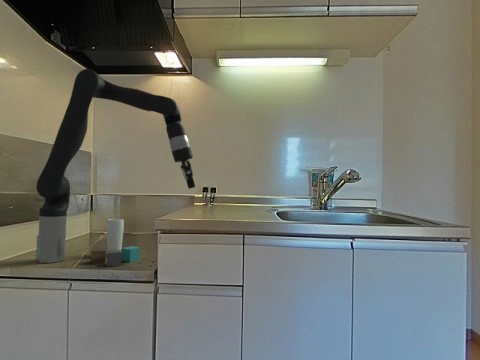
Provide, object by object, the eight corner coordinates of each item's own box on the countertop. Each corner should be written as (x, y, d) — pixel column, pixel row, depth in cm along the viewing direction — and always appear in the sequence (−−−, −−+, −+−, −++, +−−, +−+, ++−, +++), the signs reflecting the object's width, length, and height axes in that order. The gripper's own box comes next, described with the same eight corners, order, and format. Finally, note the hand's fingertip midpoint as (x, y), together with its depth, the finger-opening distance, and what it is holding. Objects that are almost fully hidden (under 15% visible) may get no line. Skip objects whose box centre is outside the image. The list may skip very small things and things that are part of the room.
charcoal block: (120, 266, 124) (121, 252, 124) (106, 266, 123) (106, 253, 123) (120, 262, 129) (121, 249, 129) (106, 263, 127) (107, 250, 127)
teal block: (129, 262, 130) (130, 249, 130) (121, 260, 133) (121, 248, 133) (139, 260, 134) (140, 247, 134) (131, 258, 137) (131, 246, 137)
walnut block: (105, 263, 127) (105, 250, 127) (91, 264, 126) (91, 250, 126) (105, 260, 132) (106, 247, 132) (91, 261, 130) (92, 248, 130)
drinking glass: (104, 256, 138) (105, 220, 138) (107, 253, 145) (108, 218, 145) (122, 256, 140) (123, 220, 140) (123, 253, 146) (124, 218, 146)
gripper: (171, 153, 139) (182, 190, 140) (171, 148, 126) (183, 190, 126) (189, 148, 141) (199, 186, 141) (191, 143, 127) (202, 184, 127)
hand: (191, 188), depth 133 cm, fingers open, 8 cm apart
